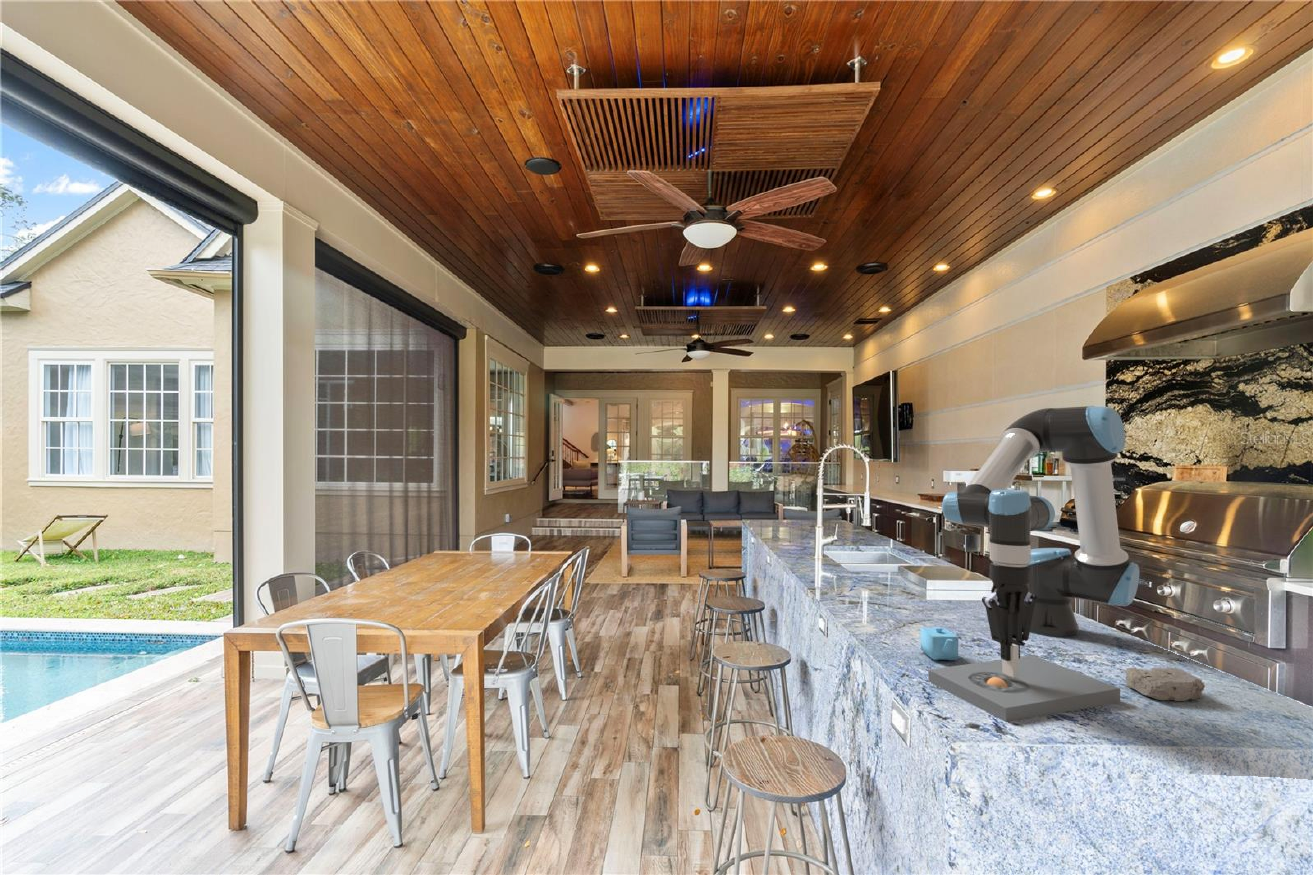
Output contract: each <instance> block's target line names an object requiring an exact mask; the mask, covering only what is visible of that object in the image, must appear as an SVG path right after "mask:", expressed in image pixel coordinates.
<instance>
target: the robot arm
mask: <svg viewBox="0 0 1313 875" xmlns="http://www.w3.org/2000/svg"><path fill="white" fill-rule="evenodd" d="M1125 437H1126V431H1125V427H1124V424H1123V421H1122V418H1121V416H1120V414H1119V413H1118V412H1117V411H1116V410H1115V409H1114V408H1112V407H1110V406H1094V405H1088V406H1087V405H1086V406H1073V407H1070V406H1069V407H1055V408H1054V407H1053V408H1050V407H1048V408H1046V407H1045V408H1041V409H1037V410H1033V411H1032V412H1029V413H1027V414H1025V415H1023V416H1022V417H1020V418H1018V419H1017V420H1015V421H1013V423H1012V424H1010V425H1009V426H1008V427H1006V429H1005V430H1004V431H1003V432H1002V434H1001V435H1000V437H999V444H998V445H997V447H996V448H994V451H993V452H992V454H990V456H988V459H987V460H986V461H985V462H984V463H983V465H982V466H981V467H980V468H979V469H978V471H977V472H976V474H975V475H974V476H973V478H972V479H971V480H970V481H969V483H968V484H967V485H966V486H965V487H964V489H963V490H962V491H958V490H957V491H950V492H947V493H946V494H945V495H944V497H943V498H942V503H941V511H942V513H943V517H944V518H945V520H947V521H948V522H950V523H956V524H961V525H967V526H968V525H970V526H980V527H988V528H989V541H988V542H989V560H990V561H991V562H990V563H989V580H991V582H992V587H991V590H990V595H988V597H987V596H983V597H982V598H981V602H982V604H983V606H984V608H985V611H986V616H987V621H988V625H989V626H988V628H989V631H990V636H991V640H992V641H994V642H997V643H999V645H1000V658H1001V659H1002V673H1004V674H1006V675H1008V676H1010V677H1013V678H1015V677H1019V659H1020V657H1021V647H1024V646H1025V645H1026V643H1025V642H1027V641H1028V640H1029V637H1030V634H1031V633H1032V634H1034V635H1040V636H1045V637H1051V638H1074V637H1078V636H1079V634H1080V632H1079V631H1080V629H1079V628H1080V626H1079V624H1078V622H1077V619H1076V617H1075V613H1074V611H1073V607H1072V599H1077V600H1084V601H1088V602H1092V603H1093V602H1094V603H1100V604H1105V605H1108V606H1116V607H1117V606H1118V607H1127V606H1129V605H1130V604H1132V603H1133V601H1134V599H1135V597H1136V594H1137V592H1138V586H1139V583H1140V567H1139V564H1137V563H1134V562H1133V561H1131V562H1130V558H1129V553H1127V551H1126V550H1124V549H1122V548H1121V544H1120V542H1121V541H1120V536H1119V524H1118V517H1117V507H1116V498H1115V488H1114V480H1113V470H1112V463H1113V462H1114V461H1116V460H1117V459H1118V453H1121V452H1122V451H1123V450H1125V446H1126V439H1125ZM1045 452H1049V453H1050V452H1054V453H1061V457H1062V461H1063V462H1064V463H1065V464H1066V465H1069V466H1070V474H1071V481H1072V489H1073V490H1072V491H1073V499H1074V505H1075V514H1076V522H1077V531H1078V539H1079V546H1080V548H1078V549H1077V550H1076V551H1075V552H1074V555H1072V552H1071V550H1070V549H1069V548H1063V547H1040V548H1031V532H1034V531H1035V532H1037V531H1038V532H1039V531H1042V530H1044V528H1047V527H1049V526H1050V525H1051V524H1052V523H1053V522H1054V520H1055V517H1056V512H1055V507H1054V506H1053V504H1052V503H1051V502H1050V501H1049V500H1048V499H1046V498H1045V497H1042V496H1038V495H1030V493H1029V492H1027V491H1026V490H1021V489H1008V488H1009V487H1010V485H1011V484H1012V482H1013V481H1014V479H1015V478H1016V477H1017V475H1018V474H1019V472H1020V471H1021V470H1022V468H1023V467H1024V466H1025V464H1026V463H1027V461H1028V460H1031V459H1033V458H1035V457H1036V456H1037V455H1038V453H1045ZM1024 641H1025V642H1024ZM1001 659H1000V660H1001Z"/></svg>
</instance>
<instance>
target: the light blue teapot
mask: <svg viewBox="0 0 1313 875" xmlns="http://www.w3.org/2000/svg"><path fill="white" fill-rule="evenodd" d="M920 650H921V651H922V652H923V653H925V656H928V657H929V658H930V659H931V660H932V659H933V660H932V661H940V660H943V661H944V660H945V661H946V660H947V661H951V662H952V661H954V660H956V661H957V660H958V661H959V637H958V636H957V635H956V634H955V633H953V632H951V631H950V630H949V629H947V628H946V627H942V626H935V627H920Z"/></svg>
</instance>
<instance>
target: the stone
mask: <svg viewBox="0 0 1313 875" xmlns="http://www.w3.org/2000/svg"><path fill="white" fill-rule="evenodd" d="M1125 685H1126V687H1127V688H1130V689H1133V690H1135V691H1137V692H1138V693H1140V694H1141V695H1144V696H1145V697H1150V698H1152V699H1155V700H1158V701H1171V700H1174V702H1185V701H1186V700H1187V701H1189V700H1191V701H1193V700H1196V699H1199V698H1202V697H1203V691H1204V690H1205V688H1206V687H1205V686H1206V685H1205V683H1204V682H1203V681H1202V679H1200V678H1198V677H1197V676H1195V675H1192V674H1191V673H1189V672H1187V671H1185V670H1183V669H1181V668H1176V667H1172V666H1171V667H1170V666H1169V667H1152V668H1151V670H1150V669H1144V668H1136V667H1128V668H1126V670H1125Z"/></svg>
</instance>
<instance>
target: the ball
mask: <svg viewBox="0 0 1313 875" xmlns="http://www.w3.org/2000/svg"><path fill="white" fill-rule="evenodd" d="M987 683H988V684H990V685H993V686H997V687H1005V688H1008V686H1007V684H1006V682H1005V681H1004V680H1002V679H1001V678H998V677H992V678H990V679H989V680H988V681H987Z"/></svg>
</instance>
